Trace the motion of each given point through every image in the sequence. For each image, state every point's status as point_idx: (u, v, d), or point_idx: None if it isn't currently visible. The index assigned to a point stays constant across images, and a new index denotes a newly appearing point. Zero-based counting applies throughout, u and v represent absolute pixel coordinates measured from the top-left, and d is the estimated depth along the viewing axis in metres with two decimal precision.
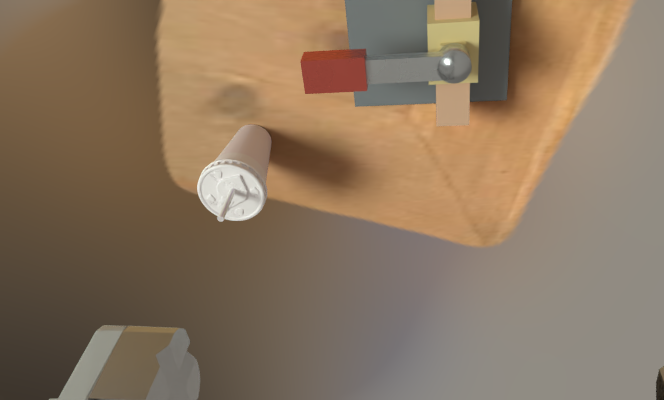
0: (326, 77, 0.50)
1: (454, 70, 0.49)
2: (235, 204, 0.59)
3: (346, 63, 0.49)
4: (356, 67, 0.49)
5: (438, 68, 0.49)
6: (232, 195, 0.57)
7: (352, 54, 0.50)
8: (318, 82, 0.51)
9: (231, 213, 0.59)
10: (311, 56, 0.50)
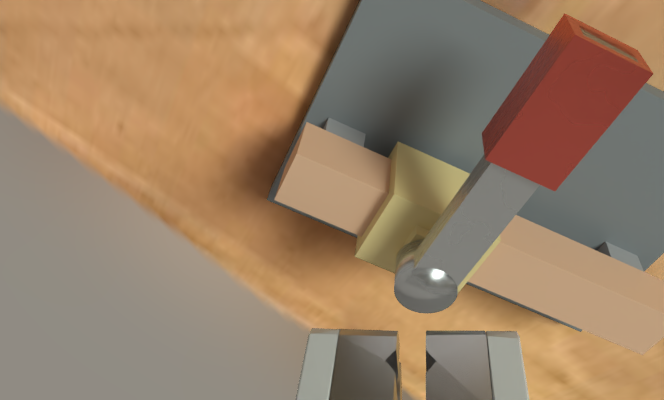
0: (573, 104, 0.20)
1: (421, 289, 0.26)
2: None
3: (570, 156, 0.21)
4: (547, 168, 0.22)
5: (441, 272, 0.26)
6: None
7: None
8: (576, 80, 0.20)
9: None
10: None
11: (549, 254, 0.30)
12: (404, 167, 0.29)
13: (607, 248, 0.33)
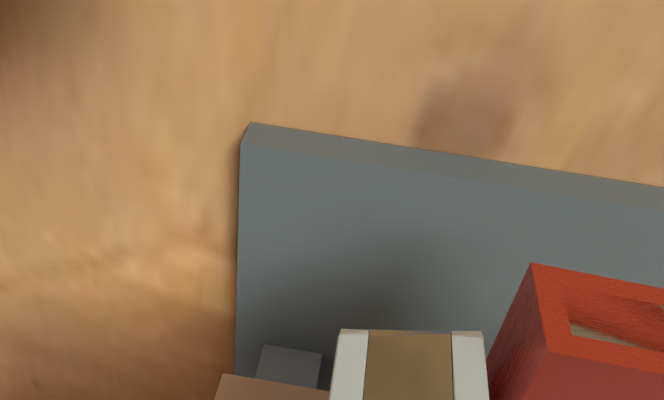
0: None
1: None
2: None
3: None
4: None
5: None
6: None
7: None
8: None
9: None
10: None
11: None
12: None
13: None
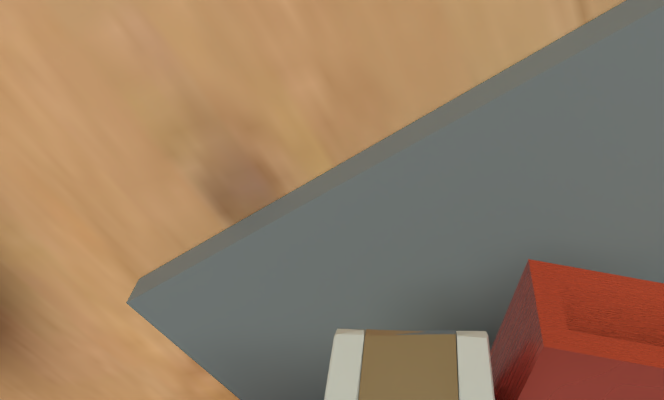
0: None
1: None
2: None
3: None
4: None
5: None
6: None
7: None
8: None
9: None
10: None
11: None
12: None
13: None
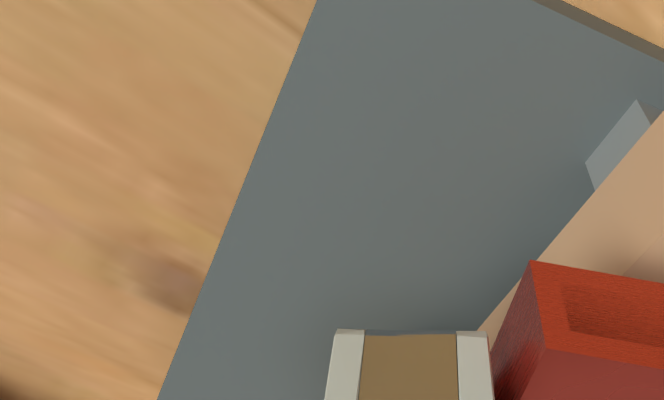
0: None
1: None
2: None
3: None
4: None
5: None
6: None
7: None
8: None
9: None
10: None
11: None
12: None
13: (590, 175, 0.16)
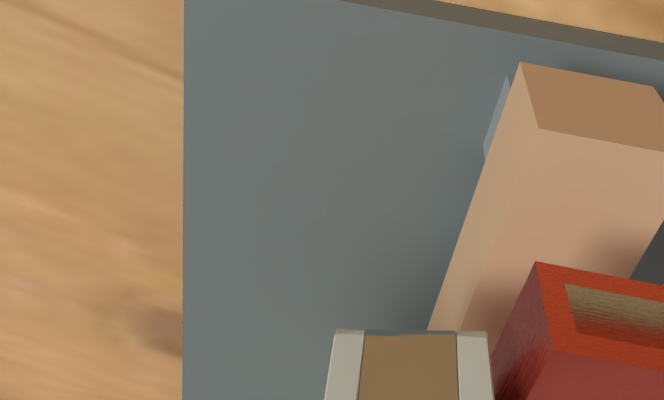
0: None
1: None
2: None
3: None
4: None
5: None
6: None
7: None
8: None
9: None
10: None
11: None
12: None
13: (485, 156, 0.16)
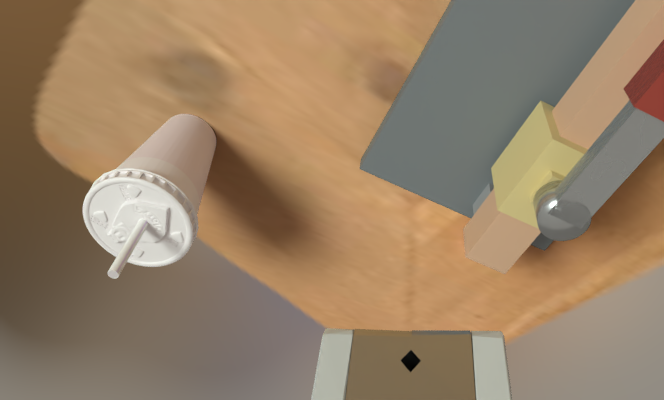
0: None
1: (560, 219, 0.32)
2: None
3: None
4: None
5: (579, 204, 0.32)
6: (142, 233, 0.34)
7: None
8: None
9: (121, 248, 0.37)
10: None
11: (595, 81, 0.32)
12: (497, 181, 0.38)
13: None
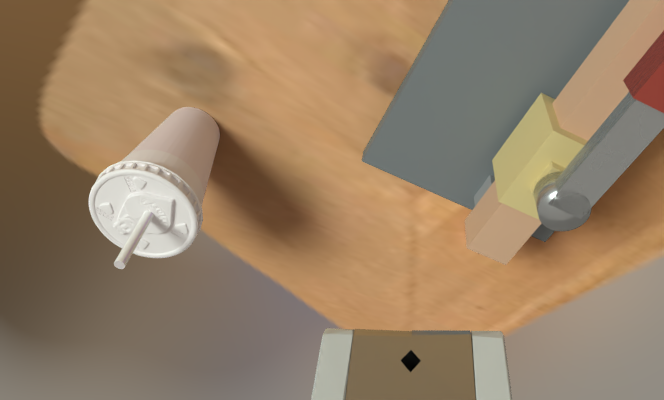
0: None
1: (560, 210, 0.33)
2: None
3: None
4: None
5: (579, 195, 0.32)
6: (147, 224, 0.35)
7: None
8: None
9: (127, 240, 0.37)
10: None
11: (595, 73, 0.33)
12: (498, 173, 0.38)
13: None
